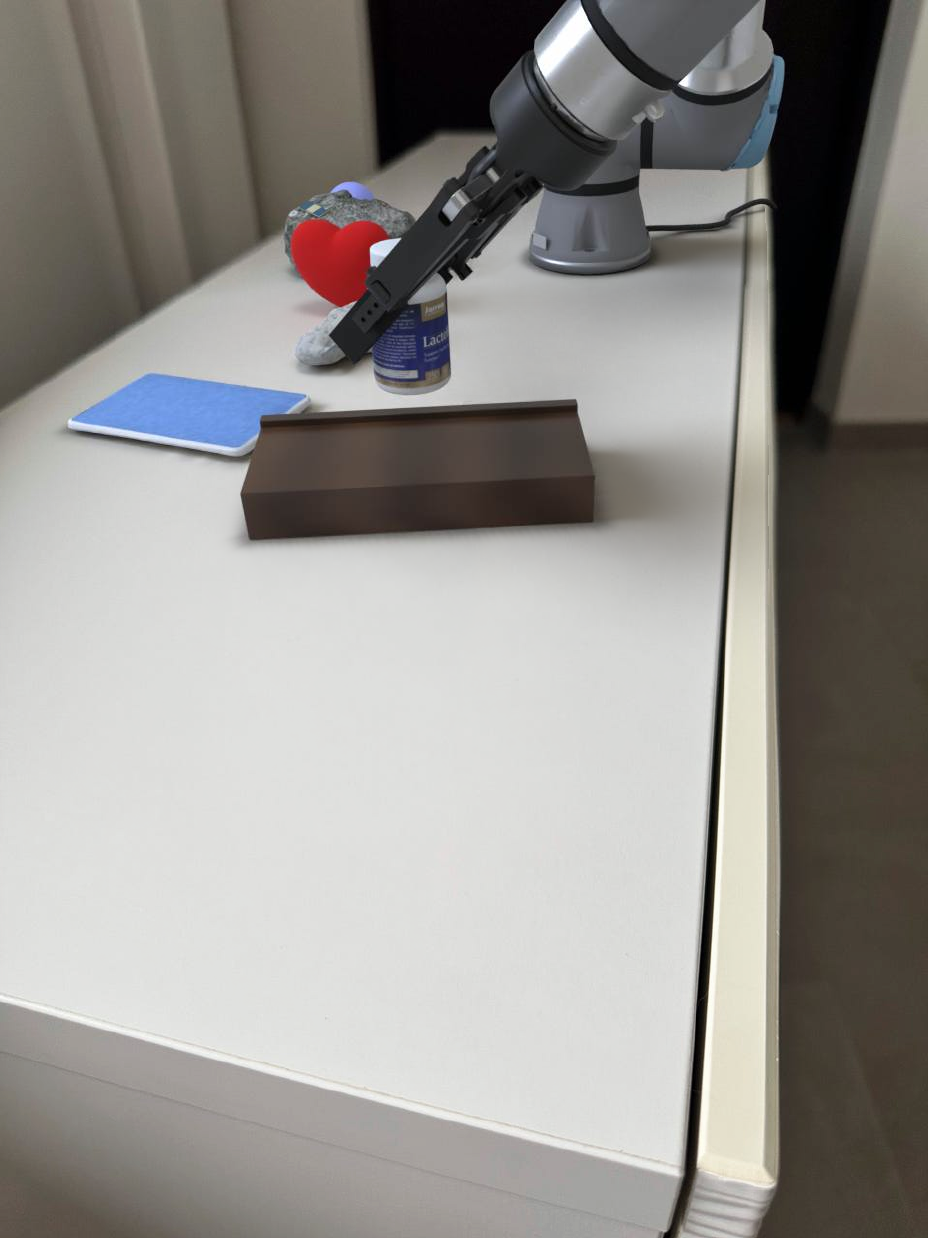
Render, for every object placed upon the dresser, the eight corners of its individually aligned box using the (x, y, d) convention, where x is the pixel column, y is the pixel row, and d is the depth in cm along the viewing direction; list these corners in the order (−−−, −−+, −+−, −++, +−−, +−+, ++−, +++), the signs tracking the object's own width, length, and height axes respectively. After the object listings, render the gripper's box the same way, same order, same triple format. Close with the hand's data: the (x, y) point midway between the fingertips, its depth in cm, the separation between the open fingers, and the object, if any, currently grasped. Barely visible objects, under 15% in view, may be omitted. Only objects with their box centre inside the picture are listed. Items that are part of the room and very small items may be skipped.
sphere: (383, 227, 144) (378, 175, 140) (374, 242, 139) (369, 188, 135) (334, 228, 145) (328, 176, 141) (324, 243, 139) (318, 189, 135)
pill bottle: (442, 399, 73) (433, 258, 67) (366, 396, 74) (350, 257, 68) (459, 368, 78) (451, 233, 72) (387, 365, 79) (374, 233, 73)
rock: (443, 243, 131) (426, 170, 124) (404, 311, 124) (383, 238, 116) (324, 240, 138) (300, 171, 130) (279, 305, 130) (252, 235, 122)
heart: (291, 316, 116) (278, 225, 110) (309, 300, 120) (297, 212, 114) (388, 321, 113) (380, 228, 108) (403, 304, 118) (396, 214, 112)
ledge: (575, 449, 86) (576, 398, 84) (593, 522, 76) (595, 467, 74) (269, 464, 86) (261, 414, 84) (249, 540, 77) (238, 486, 74)
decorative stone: (363, 326, 112) (358, 280, 109) (413, 336, 109) (410, 289, 106) (286, 369, 103) (278, 320, 100) (338, 381, 100) (332, 330, 97)
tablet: (65, 433, 93) (61, 419, 93) (150, 380, 103) (147, 368, 102) (241, 465, 87) (239, 451, 86) (316, 405, 96) (314, 392, 95)
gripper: (554, 184, 53) (331, 422, 69) (669, 116, 66) (459, 329, 83) (460, 67, 52) (256, 336, 68) (595, 22, 65) (397, 256, 82)
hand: (367, 332), depth 75 cm, fingers closed on pill bottle, 6 cm apart
